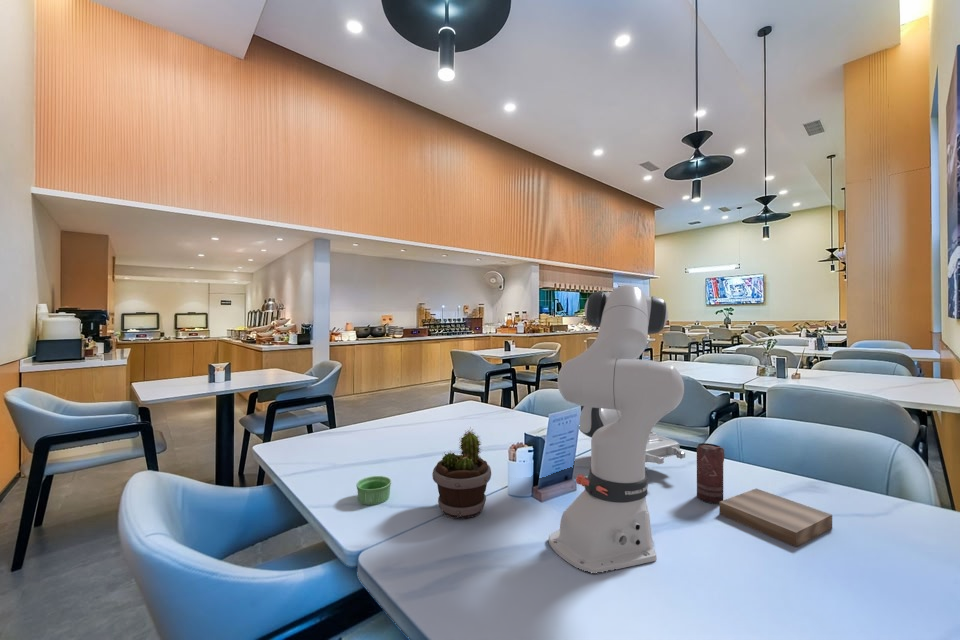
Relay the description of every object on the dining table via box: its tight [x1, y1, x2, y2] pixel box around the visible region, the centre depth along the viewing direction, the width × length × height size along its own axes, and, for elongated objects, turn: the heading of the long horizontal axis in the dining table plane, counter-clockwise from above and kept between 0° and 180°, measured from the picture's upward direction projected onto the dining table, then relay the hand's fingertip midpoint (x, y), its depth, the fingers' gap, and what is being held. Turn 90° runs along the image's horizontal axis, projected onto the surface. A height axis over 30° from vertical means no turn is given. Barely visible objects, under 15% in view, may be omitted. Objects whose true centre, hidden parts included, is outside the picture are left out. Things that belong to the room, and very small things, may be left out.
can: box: [696, 442, 725, 505], centre depth 105 cm, size 6×6×14 cm
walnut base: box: [718, 488, 833, 548], centre depth 94 cm, size 16×16×3 cm
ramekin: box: [356, 475, 392, 506], centre depth 107 cm, size 9×9×4 cm
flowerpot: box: [431, 426, 492, 520], centre depth 100 cm, size 14×15×20 cm
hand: (673, 458), depth 115 cm, fingers open, 8 cm apart
